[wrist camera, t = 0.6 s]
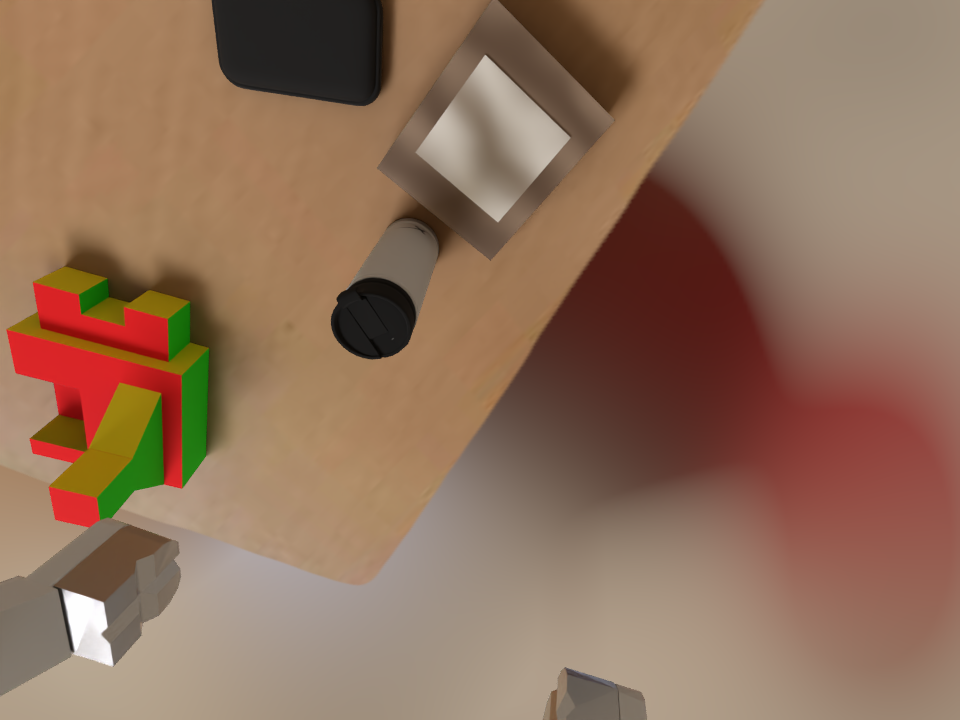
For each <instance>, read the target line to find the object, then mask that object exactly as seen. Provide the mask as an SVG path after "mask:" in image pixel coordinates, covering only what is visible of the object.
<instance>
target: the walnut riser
mask: <svg viewBox="0 0 960 720" xmlns="http://www.w3.org/2000/svg"><path fill="white" fill-rule="evenodd" d="M614 121H615V120H614V119H613V118H612V117H611V116H610V115H609V114H608V113H607V112H606V111H605V110H604V109H603V108H602V106H601V105H600V104H599V103H598V102H597V101H596V100H595V99H594V98H593V97H592V96H591V95H590V94H589V93H588V92H587V91H586V90H585V89H584V88H583V87H582V86H581V85H580V84H579V83H578V82H577V81H576V80H575V79H574V78H573V77H572V76H571V75H570V74H569V73H568V72H567V71H566V70H565V69H564V68H563V67H562V66H561V65H560V64H559V62H558V61H557V60H556V59H555V58H554V57H553V56H552V55H551V54H550V53H549V52H548V51H547V50H546V49H545V48H544V47H543V46H542V45H541V44H540V43H539V42H538V41H537V40H536V39H535V38H534V37H533V36H532V35H531V34H530V33H529V32H528V31H527V30H526V29H525V28H524V27H523V26H522V25H521V24H520V23H519V22H518V21H517V20H516V18H515V17H514V16H513V15H512V14H511V13H510V12H509V11H508V10H507V9H506V8H505V7H504V6H503V5H502V4H501V3H500V2H499V1H498V0H492V1H491V2H490V4H489V5H488V6H487V8H486V9H485V11H484V12H483V14H482V15H481V17H480V18H479V20H478V21H477V23H476V24H475V25H474V27H473V28H472V30H471V31H470V33H469V34H468V36H467V37H466V39H465V40H464V41H463V43H462V44H461V46H460V47H459V49H458V50H457V52H456V53H455V55H454V56H453V58H452V59H451V60H450V62H449V63H448V65H447V66H446V68H445V69H444V71H443V72H442V74H441V75H440V77H439V78H438V79H437V81H436V82H435V84H434V85H433V87H432V88H431V90H430V91H429V93H428V94H427V95H426V97H425V98H424V100H423V101H422V103H421V104H420V106H419V107H418V109H417V110H416V112H415V113H414V114H413V116H412V117H411V119H410V120H409V122H408V123H407V125H406V126H405V128H404V129H403V131H402V132H401V133H400V135H399V136H398V138H397V139H396V141H395V142H394V144H393V145H392V147H391V148H390V150H389V151H388V152H387V154H386V155H385V157H384V158H383V160H382V161H381V163H380V164H379V166H378V167H377V169H379V170H380V171H381V172H382V173H383V174H385V175H386V176H387V177H388V178H390V179H391V180H392V181H393V182H395V183H396V184H397V185H398V186H399V187H401V188H402V189H403V190H404V191H406V192H407V193H408V194H409V195H411V196H412V197H413V198H414V199H415V200H417V201H418V202H419V203H420V204H422V205H423V206H424V207H425V208H427V209H428V210H429V211H430V212H431V213H433V214H434V215H435V216H436V217H438V218H439V219H440V220H441V221H443V222H444V223H445V224H446V225H447V226H449V227H450V228H451V229H452V230H454V231H455V232H456V233H457V234H458V235H460V236H461V237H462V238H463V239H465V240H466V241H467V242H468V243H470V244H471V245H472V246H473V247H474V248H476V249H477V250H478V251H479V252H481V253H482V254H483V255H484V256H486V257H487V258H488V259H489V260H490V261H491V259H492V258H493V257H494V256H495V255H496V254H497V253H498V252H499V250H500V249H501V248H502V247H503V246H504V245H505V244H506V243H507V241H508V240H509V239H510V238H511V237H512V236H513V235H514V234H515V232H516V231H517V230H518V229H519V228H520V227H521V226H522V225H523V223H524V222H525V221H526V220H527V219H528V218H529V217H530V216H531V214H532V213H533V212H534V211H535V210H536V209H537V208H538V207H539V205H540V204H541V203H542V202H543V201H544V200H545V199H546V198H547V196H548V195H549V194H550V193H551V192H552V191H553V190H554V188H555V187H556V186H557V185H558V184H559V183H560V182H561V181H562V179H563V178H564V177H565V176H566V175H567V174H568V173H569V172H570V170H571V169H572V168H573V167H574V166H575V165H576V164H577V163H578V161H579V160H580V159H581V158H582V157H583V156H584V155H585V154H586V152H587V151H588V150H589V149H590V148H591V147H592V146H593V145H594V143H595V142H596V141H597V140H598V139H599V138H600V137H601V136H602V134H603V133H604V132H605V131H606V130H607V129H608V128H609V127H610V125H611V124H612V123H613V122H614Z"/></svg>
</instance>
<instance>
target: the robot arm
mask: <svg viewBox="0 0 960 720" xmlns="http://www.w3.org/2000/svg"><path fill="white" fill-rule="evenodd" d="M178 554H179V544H178V542H177V541H175V540H171V539H169V538H166V537H163V536H160V535H157V534H154V533H152V532H149V531H146V530H143V529H140V528H137V527H134V526H132V525H129V524H126V523H123V522H120V521H117V520H114V519H111V518H105V519H103V520H100V521H98V522H96V523H95V524H93V525H92V526H91V527H90V528H88V529H87V530H86V531H85V532H84V533H82V534H81V535H79V536H78V537H77V538H76V539H74V540H73V541H72V542H71V543H70V544H68V545H67V546H66V547H64V548H63V549H62V550H60V551H59V552H58V553H57V554H55V555H54V556H53V557H52V558H50V559H49V560H48V561H46V562H45V563H44V564H43V565H42V566H40V567H39V568H38V569H36V570H35V571H34V572H33V573H32V574H30V575H29V576H28V577H26V578H25V577H22V576H17V577H14V578H11V579H8V580H5V581H3V582H0V696H2V695H3V694H5V693H7V692H9V691H11V690H12V689H14V688H16V687H18V686H20V685H21V684H23V683H25V682H26V681H29V680H30V679H32V678H34V677H36V676H37V675H39V674H41V673H43V672H45V671H47V670H48V669H50V668H52V667H54V666H56V665H57V664H59V663H61V662H63V661H65V660H66V659H68V658H70V657H71V655H72V654H75V655H78V656H81V657H84V658H88V659H91V660H94V661H97V662H100V663H104V664H107V665H110V666H114V665H115V664H116V663H117V662H118V661H119V660H120V659H121V658H122V656H123V655H124V654H125V653H126V652H127V650H129V649H130V647H131V646H132V645H133V644H134V643H135V642H136V641H137V640H138V639H139V637H140V636H141V634H142V626H143V623H144V622H146V621H148V620H150V619H153V618H155V617H157V616H159V615H160V614H161V612H162V611H163V610H164V609H165V608H166V607H167V605H168V604H169V603H170V601H171V600H172V598H173V596H174V594H175V592H176V591H177V589H178V586H179V582H180V578H181V573H180V568H179V566H178V565H177V563H176V562H175V561H174V559H175V557H176V556H178ZM71 653H72V654H71ZM543 720H647V715H646V707H645V699H644V697H643V695H642V693H641V692H640V691H637V690H634V689H630V688H627V687H624V686H621V685H617V684H614V683H613V682H611V681H607V680H604V679H601V678H598V677H595V676H592V675H588V674H585V673H581V672H578V671H575V670H572V669H569V668H566V667H565V668H564V669H562V670H561V673H560V675H559V677H558V686H557V690H555V691H552V692H551V694H550V696H549V699H548V701H547V704H546V708H545V712H544V716H543Z"/></svg>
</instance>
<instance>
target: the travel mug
mask: <svg viewBox="0 0 960 720" xmlns="http://www.w3.org/2000/svg"><path fill="white" fill-rule="evenodd" d="M438 253H439V243H438V239H437V237H436V235H435V233H434V232H433V230H432V229H431V228H430V227H429V226H428V225H427V224H425V223H424V222H422V221H420V220H417V219H413V218H404V219H400V220H397V221H395V222H393V223H392V224H391V225H390V226H389V227H388V228H387V229H386V231H385V232H384V234H383V235H382V237H381V238H380V240H379V241H378V243H377V244H376V246H375V247H374V249H373V250H372V252H371V253H370V255H369V256H368V258H367V259H366V261H365V262H364V264H363V265H362V267H361V268H360V270H359V271H358V273H357V274H356V276H355V277H354V279H353V280H352V282H351V283H350V285H349V286H348V288H347V289H346V290H345V291H343V292H341V293H340V294H339V295H338V297H337V302H338V304H337V306H336V307H335V309H334V310H333V313H332V316H331V327H332V331H333V334H334V336H335V338H336V339H337V341H338V342H339V343H340V344H341V345H342V346H343V347H344V348H345V349H346V350H348V351H349V352H351V353H352V354H354V355H356V356H359V357H362V358H366V359H381V358H382V357H389V356H393V355H395V354H397V353H398V352H400V350H402V349H403V348H404V347H405V346H406V345H407V344H408V342H409V340H410V338H411V335H412V332H413V329H414V327H415V325H416V321H417V319H418V316H419V313H420V310H421V307H422V303H423V300H424V297H425V294H426V291H427V288H428V285H429V282H430V279H431V276H432V273H433V270H434V267H435V264H436V260H437V257H438Z"/></svg>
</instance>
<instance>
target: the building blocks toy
mask: <svg viewBox="0 0 960 720" xmlns="http://www.w3.org/2000/svg"><path fill="white" fill-rule="evenodd" d="M33 286H34V292H35V298H36V304H37V310H38V312H37V313H35V314H33V315H31V316H30V317H28V318H26V319H24V320H22V321H21V322H19V323H17V324H15V325H14V326H12V327H10V328H8V329H6V330H7V334H8V339H9V344H10V349H11V353H12V358H13V363H14V367H15V372H16V373H17V374H21V375H25V376H29V377H33V378H37V379H41V380H45V381H49V382H52V383H54V388H55V394H56V400H57V406H58V412H59V415H58V416H57V417H56V418H54V419H53V420H52V421H51V422H49V423H48V424H47V425H46V426H45V427H43V428H42V429H41V430H40V431H38V432H37V433H36V434H35V435H33V436H32V437H31V438H30V443H31V447H32V452H33V454H37V455H42V456H46V457H50V458H54V459H59V460H63V461H67V462H71V463H73V464H72V465H71V466H70V467H69V468H68V469H67V470H66V471H65V472H63V473H62V474H61V475H60V476H59V477H58V478H57V479H56V480H55V481H54V482H53V483H52V484H51V485H50V486H49V491H50V496H51V501H52V506H53V511H54V515H55V519H56V520H58V521H63V522H67V523H72V524H76V525H81V526H86V527H91V526H92V525H93V524H95V523H96V522H98V521H100V520H103V519H105V518H112V517H113V515H114V514H115V513H116V512H117V511H118V510H119V508H120V507H121V506H122V505H123V504H124V502H125V501H126V500H127V499H128V498H129V496H130V495H131V494H132V493H133V492H134V491H135V490H140V489H145V488H149V487H154V486H158V485H163V484H165V485H169V486H173V487H177V488H183V487H184V486H185V484H186V483H187V481H188V480H189V479H190V477H191V476H192V475H193V473H194V472H195V471H196V469H197V468H198V467H199V465H200V464H201V462H202V461H203V460H204V458H205V457H206V437H207V403H208V369H209V348H208V347H204V346H200V345H197V344H193V343H190V301H187V300H184V299H180V298H177V297H173V296H169V295H166V294H162V293H159V292H155V291H152V290H148V291H147V292H145V293H144V294H142V295H141V296H139V297H138V298H136V299H135V300H133V301H132V302H130V303H129V302H125V301H122V300H118V299H114V298H111V297H109V290H108V278H105V277H101V276H98V275H94V274H91V273H87V272H83V271H80V270H76V269H73V268H69V267H63V268H61V269H59V270H57V271H54V272H52V273H50V274H48V275H46V276H44V277H42V278H40V279H38V280H36V281H34V282H33Z"/></svg>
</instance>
